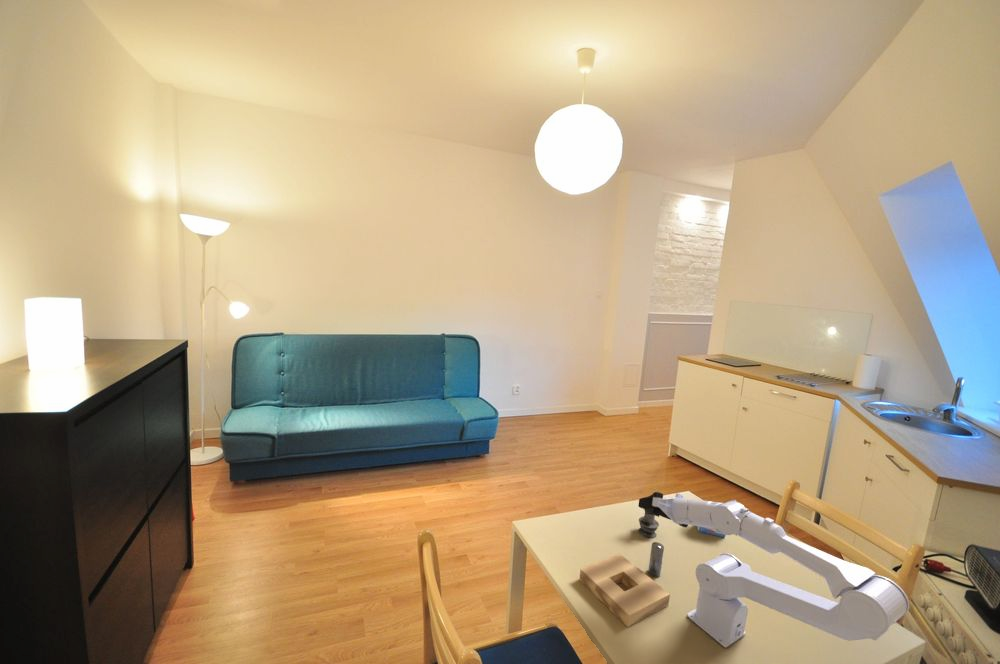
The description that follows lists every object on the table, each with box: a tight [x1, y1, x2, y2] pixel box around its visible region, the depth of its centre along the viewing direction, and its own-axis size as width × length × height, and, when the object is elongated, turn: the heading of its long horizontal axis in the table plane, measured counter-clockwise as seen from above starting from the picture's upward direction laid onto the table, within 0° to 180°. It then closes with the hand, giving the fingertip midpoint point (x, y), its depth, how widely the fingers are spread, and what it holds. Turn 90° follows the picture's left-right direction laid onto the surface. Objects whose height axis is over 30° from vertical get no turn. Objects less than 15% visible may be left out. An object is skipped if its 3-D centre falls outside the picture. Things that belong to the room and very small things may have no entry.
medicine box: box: [696, 526, 727, 538], centre depth 131 cm, size 8×4×9 cm, turn 73°
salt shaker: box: [637, 509, 660, 539], centre depth 127 cm, size 6×6×12 cm
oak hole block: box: [578, 553, 671, 628], centre depth 102 cm, size 16×14×3 cm
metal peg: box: [647, 541, 665, 578], centre depth 109 cm, size 3×3×8 cm
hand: (650, 507), depth 110 cm, fingers open, 7 cm apart
